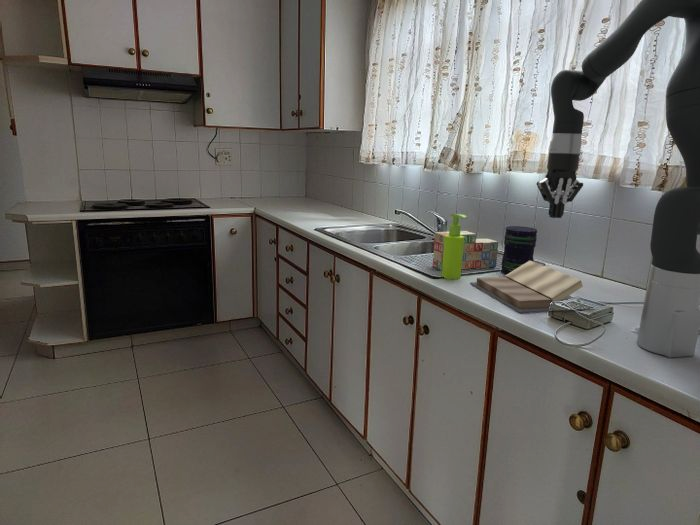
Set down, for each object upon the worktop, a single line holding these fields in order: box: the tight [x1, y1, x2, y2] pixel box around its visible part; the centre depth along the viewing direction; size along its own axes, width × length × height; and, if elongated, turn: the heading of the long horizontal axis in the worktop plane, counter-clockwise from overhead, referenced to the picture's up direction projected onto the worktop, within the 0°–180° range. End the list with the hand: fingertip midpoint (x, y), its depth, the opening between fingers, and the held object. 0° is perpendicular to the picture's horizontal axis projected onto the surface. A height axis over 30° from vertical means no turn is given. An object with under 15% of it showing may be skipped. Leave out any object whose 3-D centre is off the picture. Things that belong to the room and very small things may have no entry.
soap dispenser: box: [441, 213, 468, 280], centre depth 146 cm, size 6×7×20 cm
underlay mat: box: [469, 281, 574, 314], centre depth 131 cm, size 26×22×1 cm
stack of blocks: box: [432, 230, 499, 271], centre depth 160 cm, size 21×6×12 cm, turn 108°
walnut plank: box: [476, 276, 551, 309], centre depth 130 cm, size 22×9×2 cm, turn 14°
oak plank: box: [504, 261, 583, 302], centre depth 131 cm, size 22×9×2 cm, turn 14°
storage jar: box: [500, 225, 538, 276], centre depth 154 cm, size 10×10×15 cm
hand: (555, 217), depth 127 cm, fingers closed
